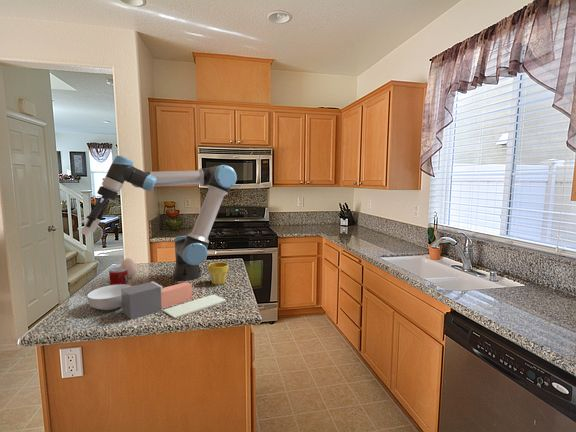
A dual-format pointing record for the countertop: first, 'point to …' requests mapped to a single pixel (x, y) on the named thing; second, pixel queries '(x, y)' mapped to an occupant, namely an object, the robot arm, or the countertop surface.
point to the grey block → (141, 299)
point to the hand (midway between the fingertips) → (87, 233)
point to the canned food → (118, 276)
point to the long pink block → (176, 294)
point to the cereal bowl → (106, 297)
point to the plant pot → (218, 272)
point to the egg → (129, 267)
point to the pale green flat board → (194, 306)
